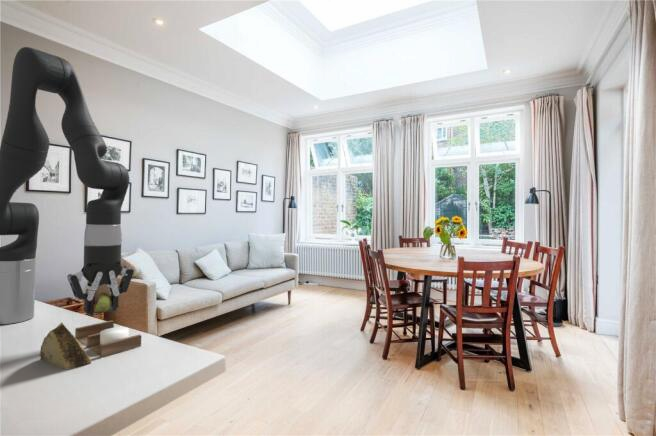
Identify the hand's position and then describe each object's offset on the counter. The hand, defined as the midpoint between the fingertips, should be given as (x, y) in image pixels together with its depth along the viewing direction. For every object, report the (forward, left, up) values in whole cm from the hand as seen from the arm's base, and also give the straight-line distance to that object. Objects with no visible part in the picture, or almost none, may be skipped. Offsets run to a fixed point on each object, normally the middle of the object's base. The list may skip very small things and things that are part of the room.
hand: (101, 312), depth 81 cm
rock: (+8, -9, -8) cm, 14 cm away
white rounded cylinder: (+7, 0, -6) cm, 10 cm away
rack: (+4, 0, -7) cm, 8 cm away
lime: (0, 0, 0) cm, 0 cm away
